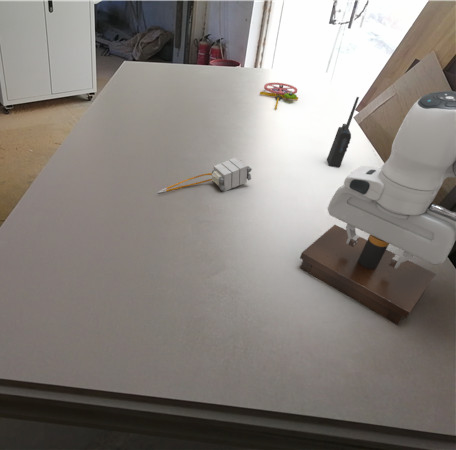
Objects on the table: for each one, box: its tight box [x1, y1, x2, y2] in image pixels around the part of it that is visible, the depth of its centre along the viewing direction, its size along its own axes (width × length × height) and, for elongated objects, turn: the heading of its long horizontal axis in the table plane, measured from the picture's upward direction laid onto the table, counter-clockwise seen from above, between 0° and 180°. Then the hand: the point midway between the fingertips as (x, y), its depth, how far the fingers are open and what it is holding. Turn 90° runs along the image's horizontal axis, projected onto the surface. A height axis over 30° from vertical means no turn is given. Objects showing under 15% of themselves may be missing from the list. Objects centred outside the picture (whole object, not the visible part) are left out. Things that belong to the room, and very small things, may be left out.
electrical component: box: [157, 157, 253, 194], centre depth 101 cm, size 24×6×5 cm, turn 115°
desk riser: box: [299, 224, 437, 325], centre depth 78 cm, size 20×14×4 cm
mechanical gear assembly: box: [259, 82, 299, 110], centre depth 160 cm, size 30×4×15 cm
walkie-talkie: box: [326, 96, 360, 168], centre depth 112 cm, size 5×3×20 cm
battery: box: [358, 234, 390, 269], centre depth 74 cm, size 3×3×7 cm
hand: (371, 254), depth 75 cm, fingers open, 7 cm apart
